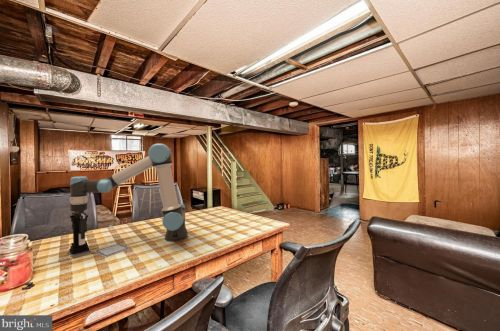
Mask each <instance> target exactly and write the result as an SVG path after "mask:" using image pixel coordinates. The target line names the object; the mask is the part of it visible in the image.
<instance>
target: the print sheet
mask: <svg viewBox="0 0 500 331" xmlns="http://www.w3.org/2000/svg"><path fill="white" fill-rule="evenodd" d="M130 249H132V248H131V247H129V246H127V245H125V244H121V243H119V242H118V243H116V244H112V245H110V246H107V247H106V246H105V247H103V248H100V249H95V250H93V253H95V254H97V255H99V256H100V257H101V256H102V257H103V258H108V257H110V256H113V255H116V254H119V253H122V252H125V251H127V250H130Z"/></svg>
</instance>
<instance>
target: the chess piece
mask: <svg viewBox="0 0 500 331" xmlns="http://www.w3.org/2000/svg"><path fill="white" fill-rule="evenodd" d="M84 213H85V215H87V218H86V220H87V221H88V218H89V214H87V213H86V212H84ZM69 218H70V222H71V228H72V227H73V229H72V231H73V232H72V235H73V236H72V242H71V243H70V248H69V249H68V251H70V253H71V254H75V253H79V252H83V251H87V250H89V249H90V246H89V244H88V242H87V240H86V239H85V244H83V245H79V234H78V233H80V231H79V225H78V221H80V219H76V217H74V216H73V215H72V214H70V215H69ZM72 223H73V225H72ZM83 231H84V230H83Z"/></svg>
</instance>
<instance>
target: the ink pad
mask: <svg viewBox="0 0 500 331" xmlns="http://www.w3.org/2000/svg"><path fill="white" fill-rule="evenodd" d="M66 252H67V253H66V254H68V255H69V256H70V257H72V258H78V257H82V256H84V255H87V254H90V253H92V249H90V248H89V250H87V251H83V252H79V253H75V254H71V253H70V251H69V250H67V251H66Z"/></svg>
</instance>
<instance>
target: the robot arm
mask: <svg viewBox="0 0 500 331" xmlns="http://www.w3.org/2000/svg"><path fill="white" fill-rule="evenodd" d="M147 155H148V156H145V157H144V158H141V159H140V160H138V161H136V162H134V163H132V164H131V165H129V166H127V167H125V168H123V169H121V170H119V171H117V172H115V173H114V174H112V175H109V176H107V177H106V178H102V179H101V178H100V179H88V177H87V176H83V175H82V176H73V177H70V180H69V181H70V182H69V189H70V194H69V196H70V198H69V200H68V201H69V202H70V210H69V211H70V212H71V215H73V216H74V217H76V219H80V221H78V225H79V231H80V233H78V234H79V245H83V244H85V240H86V233H87V232H88V222H87V221H88V218H87V215H88V214H86V215H85V213H86V212H85V211H86V210H87V209H88V194H91V193H92V194H93V193H94V194H95V193H109V192H111V191H112V190H113V189H114V190H115V188H116V187H117V186H119V185H122V184H123V183H126V182H127V181H129V180H130V179H132V178H134V177H137V176H138V175H139V174H142V173H143V172H145V171H147V170H150V169H151V168H154V169H155V171H156V176H157V181H158V186H159V190H160V195H161V201H162V205H163V206H162V209H161V214H162V222H161V223H162V226H163V227H164V229H166V231H165V233H164V240H165V241H168V242H179V241H183V240H185V239H187V238H188V235H189V234H188V230H187V227H186V205H185V204H181V203H178V202H179V201H178V197H177V192H176V187H175V182H174V181H175V180H174V177H173V173H172V168H171V167H172V165H173V159H172V157H173V151H172V149H171V148H170V146H168V145H166V144H165V143H154V144H152V145H151V146H150V147H149V148H148V151H147ZM86 218H87V220H86ZM72 225H73V223H72V222H71V230H73V227H72ZM83 230H84V231H83Z"/></svg>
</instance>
